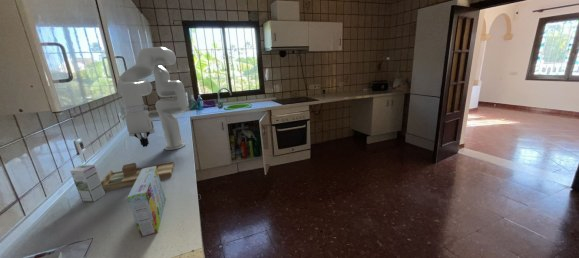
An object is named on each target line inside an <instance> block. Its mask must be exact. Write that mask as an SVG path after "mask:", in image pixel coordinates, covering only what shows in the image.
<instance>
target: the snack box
mask: <svg viewBox="0 0 579 258" xmlns="http://www.w3.org/2000/svg"><path fill="white" fill-rule="evenodd" d="M165 195H166V194H165V192H164V188H163V184H162V182H161V179H160V177H159V174H158V170H157V167H156V166H153V167H148V168H143V169H142V170H141V172H140V174H139V176H138V178H137V180H136V181H135V183H134V185H132V187H131V189H130V191H129V194H128V196H127V197H126V199H127V202H128V204H129V207H130V209H131V212H132V215H133V218H134V222H135V224H136V226H137V230H138V233H139V236H140V238H143V237H146V236H149V235H154V234H157V233H158V232H159V228H160V224H161V219H162V215H163V212H164V207H165V203H166V199H167V198H166V196H165Z"/></svg>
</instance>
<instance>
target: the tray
mask: <svg viewBox="0 0 579 258" xmlns="http://www.w3.org/2000/svg"><path fill="white" fill-rule="evenodd" d="M153 166H156V167H157V170H158V174H159V177H160V180H164V179H169V178H172V177H173V174H174V173H173V172H174V168H175V163H174V161H173V160H172V161H167V162H161V163H157V164H151V165H146V166H142V167H141V166H140V167H137V173H136V174H132V175H128V176H124V174H123V171H122V170H120V171H115V172H113V170H110V171H109V172H108V173H107V174H106V175H105V176H104V177H103V179H102V180H100V182H101V184H102V187H103V190H104V192H106V191H111V190H116V189H121V188H126V187H131V186H133V185H134V183H135V181H136V180H137V178H138V176H139V174H140V172H141V170H142V169H143V168H148V167H153Z"/></svg>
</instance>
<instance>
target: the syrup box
mask: <svg viewBox="0 0 579 258" xmlns="http://www.w3.org/2000/svg"><path fill="white" fill-rule="evenodd" d="M69 173H70V175H71V178H72V179H73V182H74V184H75V187H76V190H77V191H78V195H79V197H80V199H81V202H82V203H84V202H90V203H91V202H96V201H97V200H99V199H100V198H102V197H103V196H105V195H106V193H105V191H104V190H103V187H102V184H101V180H100V176H99V174H98V171H97V168H96V166H95V164H81V165H78V166H76V167H74V168H73V169H71V170H70V171H69Z"/></svg>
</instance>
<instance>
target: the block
mask: <svg viewBox="0 0 579 258" xmlns="http://www.w3.org/2000/svg"><path fill="white" fill-rule="evenodd" d="M137 168H138V166H137V164H136V162H132V163H128V164H123V166H122V168H121V171H123V174H124V176H128V175H132V174H136V173H137Z"/></svg>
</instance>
